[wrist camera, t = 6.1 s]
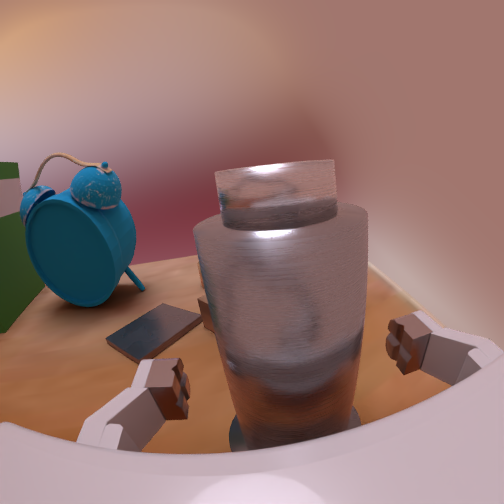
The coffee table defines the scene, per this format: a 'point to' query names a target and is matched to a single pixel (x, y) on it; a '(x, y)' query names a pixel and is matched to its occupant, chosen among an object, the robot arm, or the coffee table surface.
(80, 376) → the coffee table surface
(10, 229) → the hardback book
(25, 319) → the coffee table surface
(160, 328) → the steel plate
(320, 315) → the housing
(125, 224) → the alarm clock
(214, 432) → the coffee table surface
